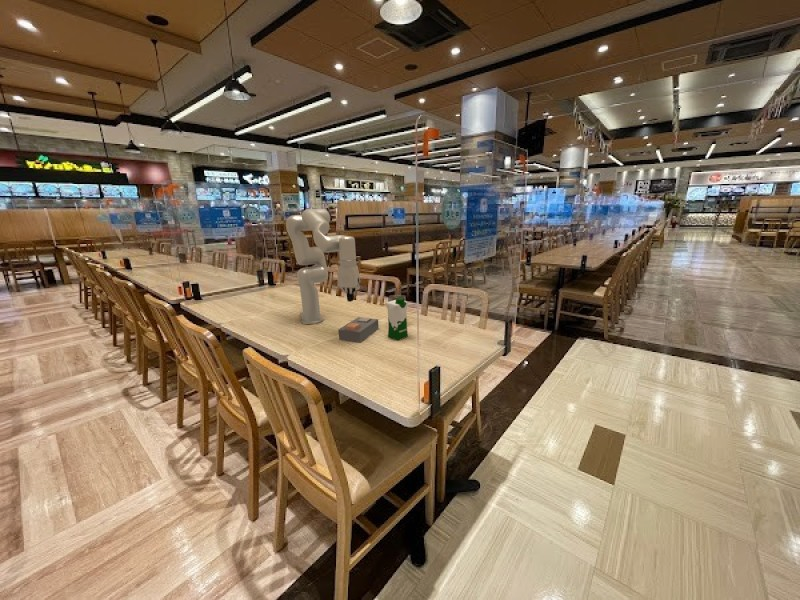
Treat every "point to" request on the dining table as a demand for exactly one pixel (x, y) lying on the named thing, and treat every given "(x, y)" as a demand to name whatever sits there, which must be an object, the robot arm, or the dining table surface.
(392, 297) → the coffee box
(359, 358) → the dining table surface
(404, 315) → the milk carton
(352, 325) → the terracotta plunger
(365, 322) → the metal plunger
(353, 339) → the button box
